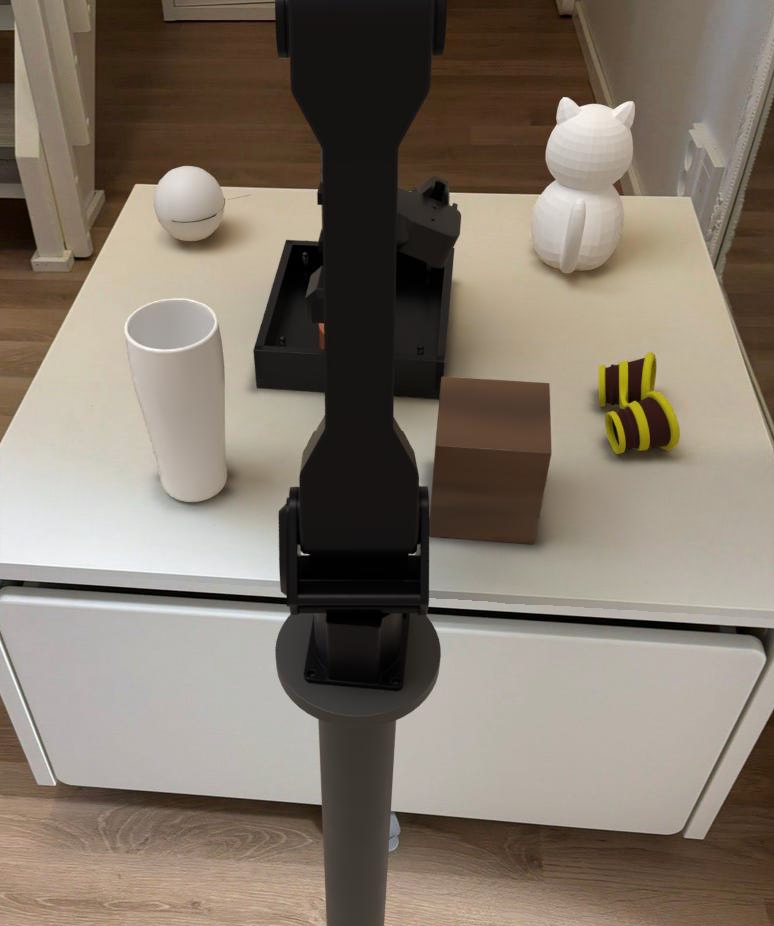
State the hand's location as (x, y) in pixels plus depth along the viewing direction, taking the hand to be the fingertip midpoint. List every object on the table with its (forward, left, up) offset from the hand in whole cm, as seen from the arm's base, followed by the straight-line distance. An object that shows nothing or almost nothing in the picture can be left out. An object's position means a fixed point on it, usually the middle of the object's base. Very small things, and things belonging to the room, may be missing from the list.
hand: (355, 335), depth 92 cm
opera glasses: (-8, -24, -2) cm, 25 cm away
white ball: (+19, +18, -2) cm, 26 cm away
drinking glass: (-19, +11, -2) cm, 22 cm away
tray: (+3, 0, -2) cm, 4 cm away
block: (-19, -12, -2) cm, 22 cm away
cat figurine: (+18, -20, -2) cm, 27 cm away
